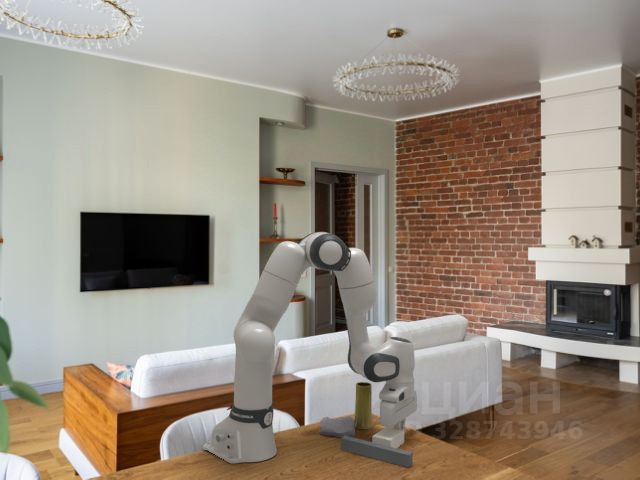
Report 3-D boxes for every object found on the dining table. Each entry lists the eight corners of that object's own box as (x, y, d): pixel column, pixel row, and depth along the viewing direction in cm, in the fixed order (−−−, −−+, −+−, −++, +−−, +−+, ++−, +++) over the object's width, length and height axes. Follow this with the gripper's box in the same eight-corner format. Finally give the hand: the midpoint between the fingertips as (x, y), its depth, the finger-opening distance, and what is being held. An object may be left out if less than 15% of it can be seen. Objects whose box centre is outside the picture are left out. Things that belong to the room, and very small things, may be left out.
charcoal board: (340, 449, 163) (340, 438, 163) (344, 447, 166) (345, 435, 166) (408, 467, 151) (409, 455, 151) (412, 464, 153) (412, 452, 153)
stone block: (355, 444, 173) (355, 426, 183) (355, 430, 172) (355, 413, 182) (318, 443, 174) (320, 426, 184) (317, 430, 173) (319, 413, 183)
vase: (360, 422, 188) (360, 380, 188) (375, 425, 184) (376, 383, 184) (350, 427, 183) (351, 384, 183) (366, 431, 179) (367, 387, 179)
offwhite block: (372, 449, 165) (372, 436, 165) (386, 439, 173) (386, 426, 173) (390, 453, 161) (390, 440, 161) (404, 443, 170) (404, 430, 170)
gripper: (404, 380, 183) (403, 421, 183) (376, 395, 165) (375, 440, 166) (422, 383, 179) (421, 425, 179) (395, 398, 162) (394, 445, 162)
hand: (399, 432), depth 172 cm, fingers closed
